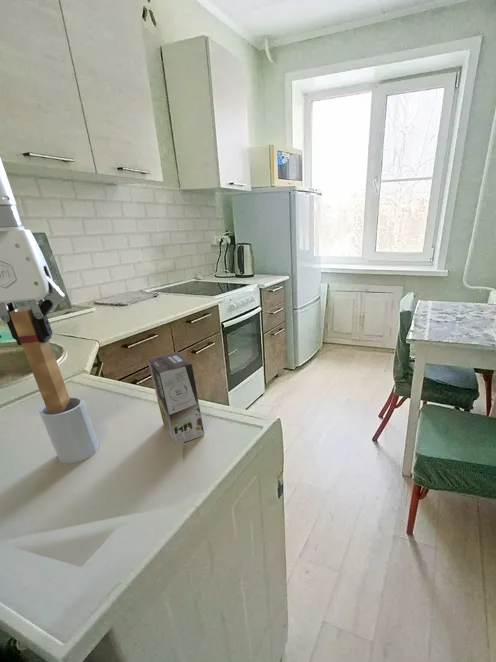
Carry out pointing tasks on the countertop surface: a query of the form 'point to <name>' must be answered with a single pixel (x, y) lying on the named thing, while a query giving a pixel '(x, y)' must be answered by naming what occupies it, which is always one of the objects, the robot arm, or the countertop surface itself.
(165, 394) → the coffee box
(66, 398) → the chopstick bundle
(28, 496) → the countertop surface
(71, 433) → the light gray cup
